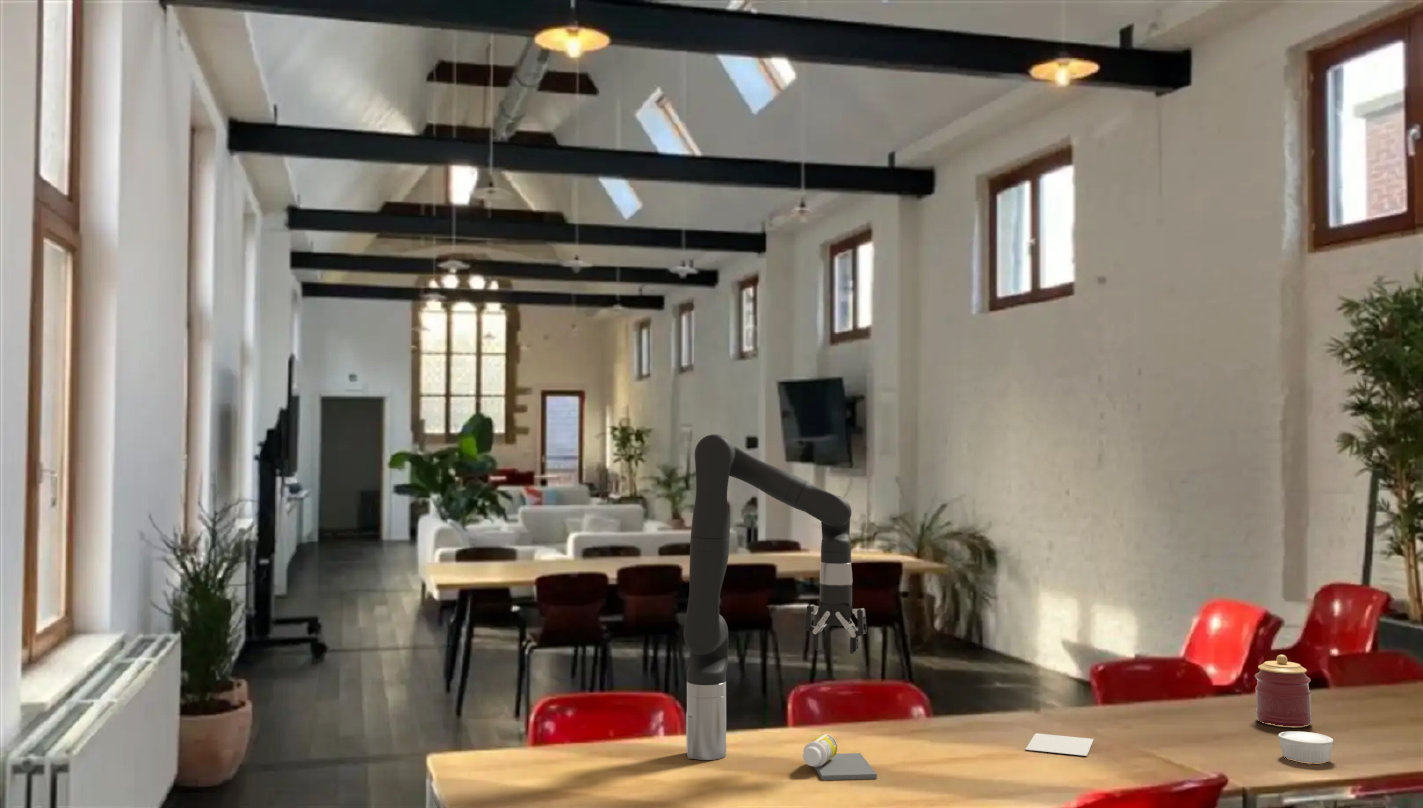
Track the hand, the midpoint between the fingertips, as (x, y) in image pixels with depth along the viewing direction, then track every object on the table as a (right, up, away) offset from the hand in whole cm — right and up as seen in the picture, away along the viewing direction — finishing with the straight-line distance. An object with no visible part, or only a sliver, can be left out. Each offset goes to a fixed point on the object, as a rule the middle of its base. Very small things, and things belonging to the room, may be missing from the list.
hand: (835, 651), depth 259 cm
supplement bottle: (-2, -21, -5) cm, 21 cm away
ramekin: (+108, -24, -4) cm, 110 cm away
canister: (+120, -26, +30) cm, 126 cm away
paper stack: (+58, -25, +3) cm, 63 cm away
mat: (0, -24, -10) cm, 26 cm away
